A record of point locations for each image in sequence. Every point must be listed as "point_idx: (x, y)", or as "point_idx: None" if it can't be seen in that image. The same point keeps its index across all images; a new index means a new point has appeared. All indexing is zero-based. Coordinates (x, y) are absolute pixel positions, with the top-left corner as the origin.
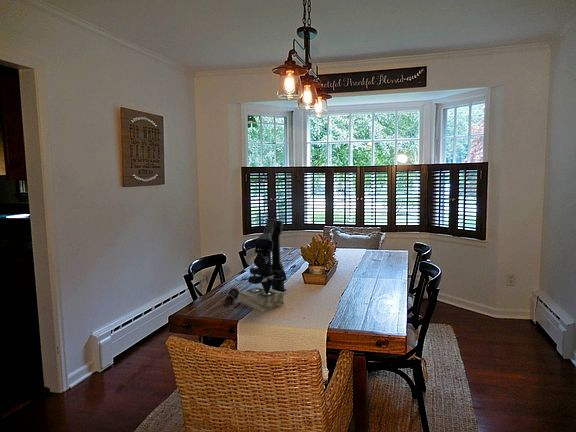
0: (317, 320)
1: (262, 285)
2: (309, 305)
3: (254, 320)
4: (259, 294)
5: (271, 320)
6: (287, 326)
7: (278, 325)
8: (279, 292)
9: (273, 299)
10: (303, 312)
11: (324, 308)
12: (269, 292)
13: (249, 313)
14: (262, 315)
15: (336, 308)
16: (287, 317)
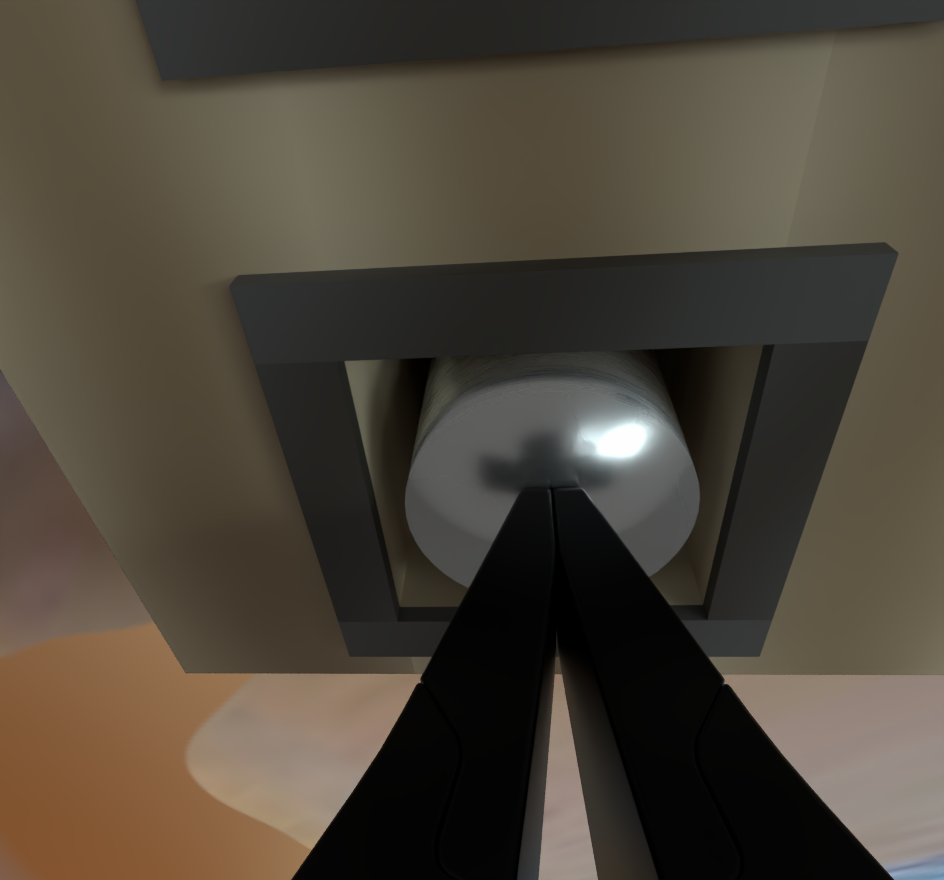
0: (558, 875)
1: (361, 794)
2: (924, 708)
3: (27, 617)
4: (275, 420)
5: (222, 712)
6: (283, 827)
7: (225, 791)
8: (901, 624)
9: None
10: None
11: (885, 815)
12: (680, 510)
13: (12, 390)
14: None
15: (934, 857)
16: None
